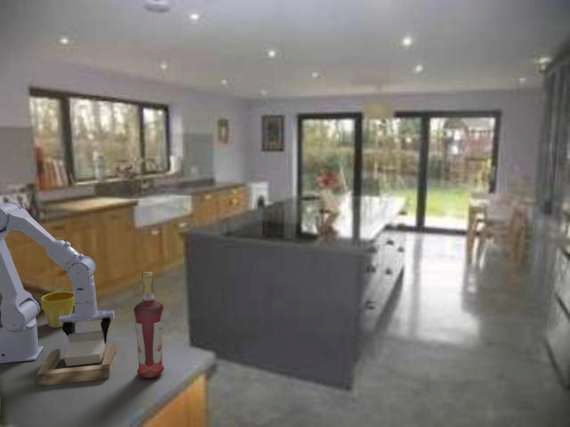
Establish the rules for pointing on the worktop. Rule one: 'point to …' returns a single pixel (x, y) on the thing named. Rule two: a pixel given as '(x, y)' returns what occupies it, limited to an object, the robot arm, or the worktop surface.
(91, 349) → the grey l-shaped bracket
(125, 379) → the worktop surface
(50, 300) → the plant pot
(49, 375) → the wooden u-shaped frame
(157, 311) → the liquor
